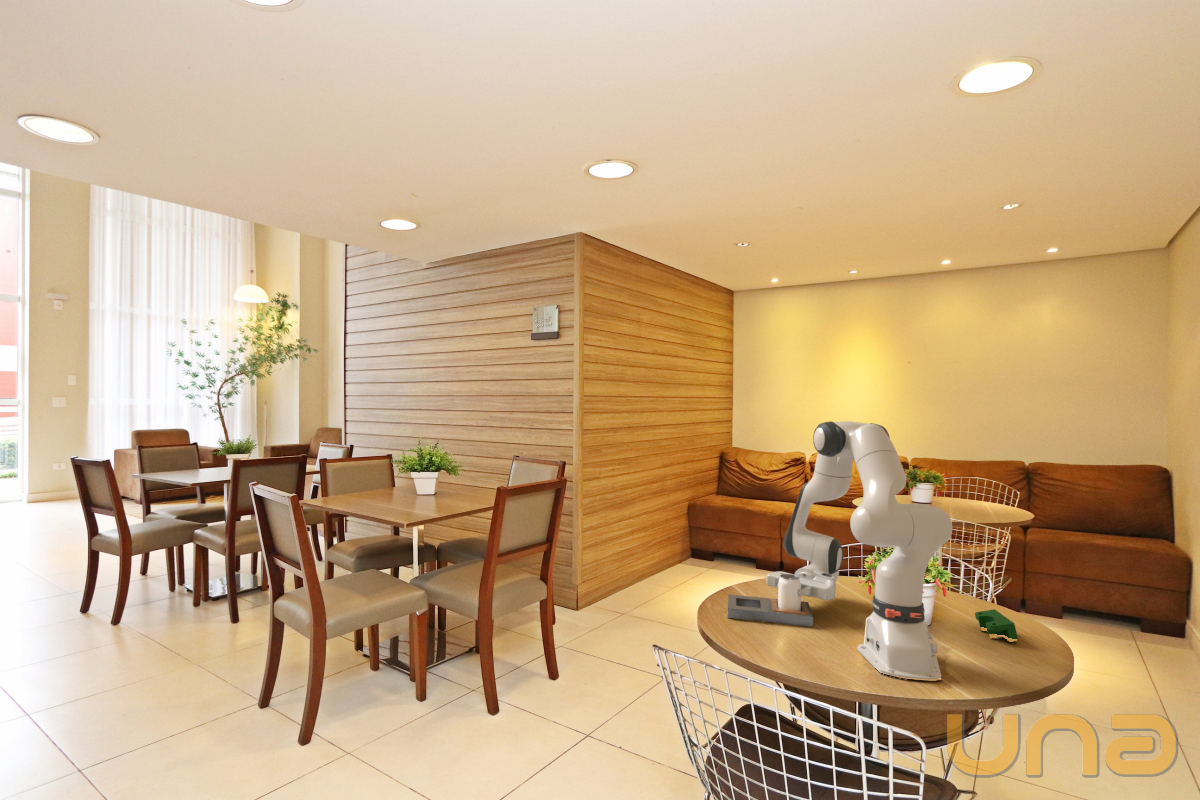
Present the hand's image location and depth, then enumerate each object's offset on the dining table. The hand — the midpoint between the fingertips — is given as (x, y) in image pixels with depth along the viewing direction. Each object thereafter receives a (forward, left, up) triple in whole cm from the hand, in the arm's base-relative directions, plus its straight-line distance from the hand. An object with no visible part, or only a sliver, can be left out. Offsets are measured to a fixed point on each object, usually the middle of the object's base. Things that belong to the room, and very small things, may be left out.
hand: (788, 590), depth 184 cm
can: (+1, 0, -8) cm, 8 cm away
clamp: (+3, -57, -9) cm, 57 cm away
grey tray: (+1, +6, -8) cm, 10 cm away
